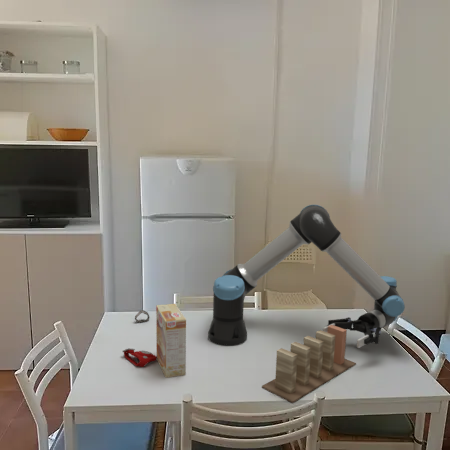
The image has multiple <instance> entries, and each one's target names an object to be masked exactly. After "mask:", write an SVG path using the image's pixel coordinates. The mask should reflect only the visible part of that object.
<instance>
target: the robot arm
mask: <svg viewBox="0 0 450 450" xmlns="http://www.w3.org/2000/svg"><path fill="white" fill-rule="evenodd" d="M310 244H313V245H315V247H317V249H319V250H320V252H325V253H327V254H328V255H329V256H330V258H332V260H334V261H335V262H336V263H337V264H338V265H339V266H340V267H341V268H342V269H343V270H344V271H345V272H346V273H347V275H349V276H350V277H351V278H352V279H353V281H355V282H356V283H357V284H358V285H359V286H360V287H361V288H362V289H363V290H364V291H365V292H366V293H367V294H368V296H369V297H371V298H372V299H373V300H374V302H373V303H374V305H373V309H372V310H370V311H368V312H366V313H363V314H361V315H360V316H359V317H358V318H357V319H354V320H352V318H351V317H346V318H337V319H329V320H327V321H328V322H327V325H325V326H324V327H323V329H322V331H324V332H327V331H328V326H330V325H334V326H337V327H340V328H343V329H345V330H349V331H354V332H355V331H356V332H360V333H363V334H364V336H362V337H360V338H358V339H357V340H356V348H358V349H359V348H361V347H363V346H365V345H369V344H373V343H374V344H375V345H378V344H379V341H380V340H379V338H380V336H381V333H382V329H383V328H386V327H387V326H389V325H391V324H393V323H394V322H395V321H396V320H397V319H398V317H399V316H400V315H402V314H403V312H405V308H406V306H405V302H404V299H403V298H402V297H401V296H400V294H399V292H398V290H397V286H398V285H397V283H398V282H397V279H396V278H395V277H392V276H387V275H386V276H385V275H384V276H383V275H379V274H378V273H377V271H376V270H374V269H373V268H372V267H371V266H370V264H368V263H367V262H366V261H365V260H364V259H363V258H362V257H361V255H359V254H358V253H357V252H356V250H355V249H354V248H352V247H351V246H350V244H349V243H347V241H346V240H344V239H343V238H342V233H341V232H340V231H339V230H338V228H337V227H336V226H335V224H334V223H333V221H332V219H331V216H330V213H329V212H328V210H327V209H325V207H323V206H322V205H319V204H309V205H307V206H305V207H303V208H302V209H301V211H300V213H299V214H297V215H296V216H295V217H294V218H293V219H291V220H290V221H289V225H288V228H286V229H285V230H284V231H283V232H281V233H280V234H279V235H278V236H277V237H275V238H274V239H273V240H272V241H270V242H269V243H268V244H267V245H265V246H264V247H263V248H262V249H261V250H259V252H256V254H254V255H253V257H251V258H250V259H249V260H247V261H246V262H245V263H238V264H236V265H235V266H234V267H233V268H232V269H229V270H227V271H226V272H224V273H223V275H222V276H219V277H217V278H215V280H214V282H213V288H212V290H213V296H212V297H213V301H212V302H213V303H212V305H213V307H212V314H213V315H212V321H211V322H210V325H209V328H208V331H207V335H208V336H207V338H208V340H209V341H210V342H211V343H213V344H215V345H219V346H220V345H221V346H225V347H226V346H227V347H228V346H238V345H241V344H244V343H246V341H247V340H248V331H247V328H246V324H245V320H244V306H245V305H244V304H245V303H244V302H245V298H246V295H247V294H248V293H250V292H251V291H252V290H254V289H255V288H256V287H257V285H258V281H259V280H260V279H261V278H263V277H264V276H265V275H267V274H268V273H269V272H270V271H271V270H273V268H275V267H276V266H278V265H279V264H281V262H283V261H284V260H285V259H286V258H288V257H290V255H292V254H293V253H294V252H295V251H296V250H298V249H299V248H300V247H302V246H303V245H310Z"/></svg>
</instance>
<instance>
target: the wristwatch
mask: <svg viewBox="0 0 450 450" xmlns="http://www.w3.org/2000/svg"><path fill="white" fill-rule="evenodd" d="M141 314H144V315H146V316H147V318H146V319H144V320H143V319H142V320H140V319H137V318H138V317H139V316H140V315H141ZM134 320H135V321H136V322H137V323H140V324H142V323H147V322H149V320H150V314H149V312H148V311H146V310H144V309H141V310H139V311H138V313H137V314H136V315H135V316H134Z"/></svg>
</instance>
